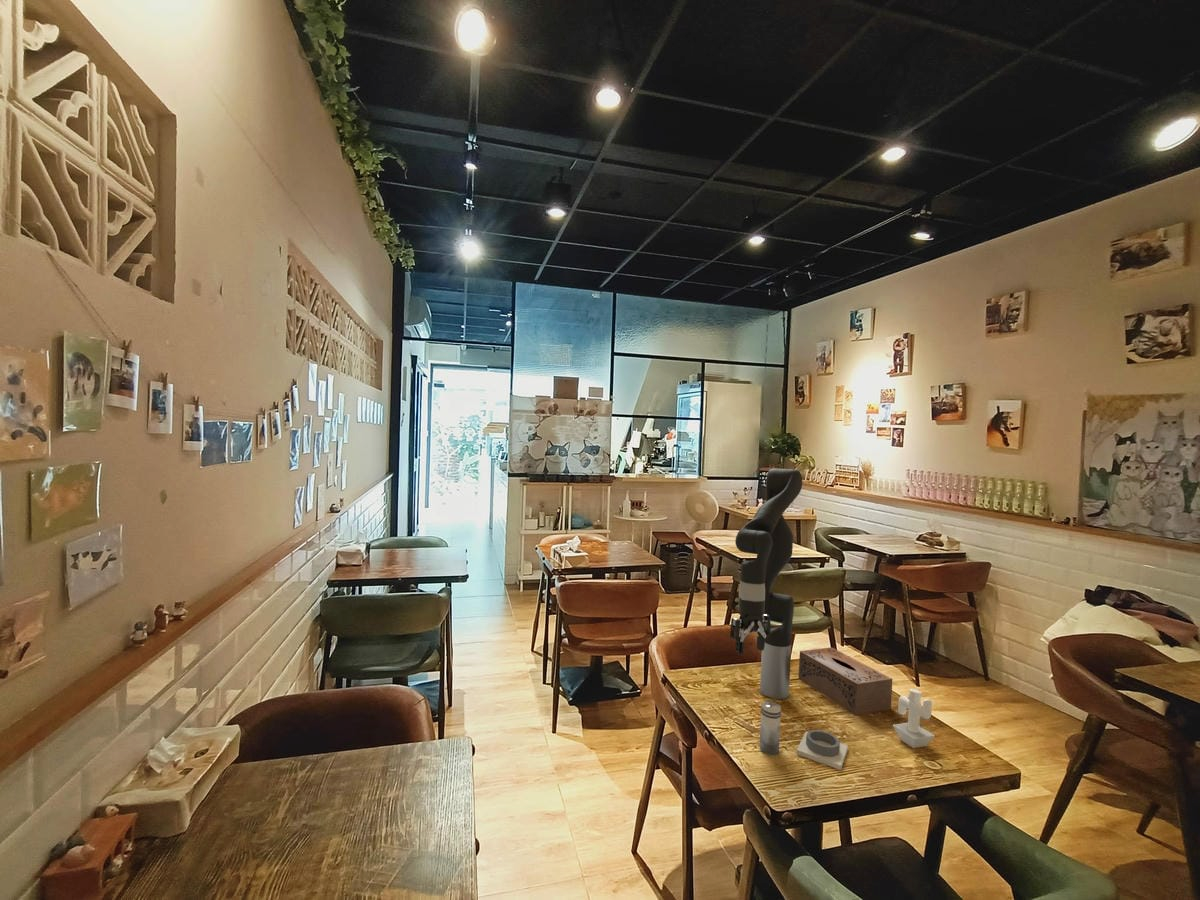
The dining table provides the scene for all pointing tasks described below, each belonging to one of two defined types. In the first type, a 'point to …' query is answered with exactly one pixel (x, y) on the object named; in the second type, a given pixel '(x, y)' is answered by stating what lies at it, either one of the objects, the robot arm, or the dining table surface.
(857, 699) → the tissue box cover
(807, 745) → the ring stand
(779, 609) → the robot arm
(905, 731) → the figurine
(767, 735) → the piston
